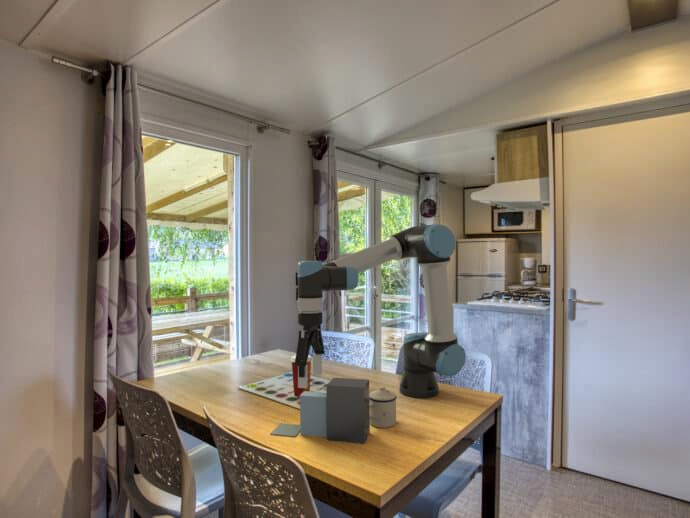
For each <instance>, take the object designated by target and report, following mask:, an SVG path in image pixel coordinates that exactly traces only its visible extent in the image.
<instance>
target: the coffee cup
mask: <svg viewBox="0 0 690 518" xmlns="http://www.w3.org/2000/svg"><path fill="white" fill-rule="evenodd" d="M295 358H296V354H294V355H292V356H291V359H290V362H291V370H292V372H291V373H292V384H293V387H292V388H293V395H295V396H300V395H301V394H302V393H303V392H304V391H308V392H311V374H312V373H311V371H312V361H313V357H312V356H311V355H310V354H309V355H308V359H307V364H306V365H308V388H298V366H295ZM295 396H294V397H295Z"/></svg>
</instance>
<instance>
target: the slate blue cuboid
mask: <svg viewBox="0 0 690 518" xmlns="http://www.w3.org/2000/svg"><path fill="white" fill-rule="evenodd" d="M299 414H300V417H299V418H300V419H299V421H300V422H299V425H300V432H299V433H300V436H301V435H302V436H309V437H320V438H327V392H322V391H321V392H319V391H310V392H308V391H304V392H303V393H302V394H301V395H300V397H299Z"/></svg>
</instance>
